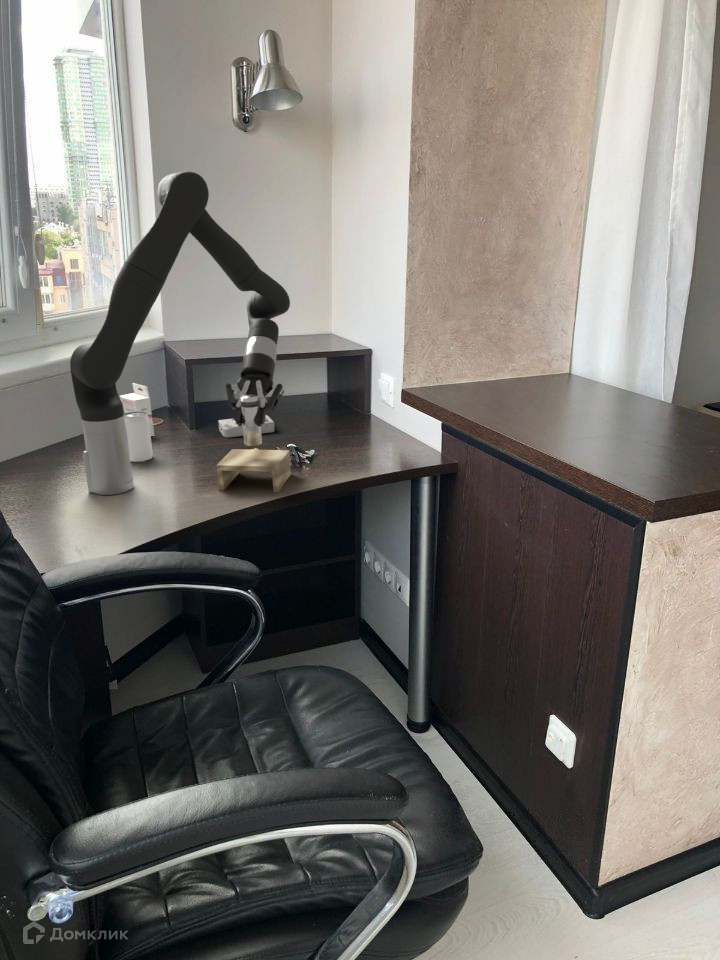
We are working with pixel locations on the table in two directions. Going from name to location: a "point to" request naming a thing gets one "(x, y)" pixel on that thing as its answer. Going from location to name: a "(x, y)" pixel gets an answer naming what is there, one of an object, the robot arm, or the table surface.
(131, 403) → the ink cartridge box
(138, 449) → the can
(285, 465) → the riser
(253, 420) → the spice jar
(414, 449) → the table surface
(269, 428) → the handheld gaming device
